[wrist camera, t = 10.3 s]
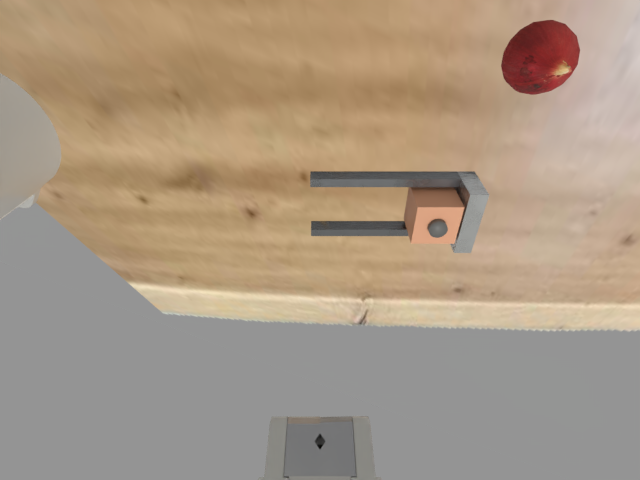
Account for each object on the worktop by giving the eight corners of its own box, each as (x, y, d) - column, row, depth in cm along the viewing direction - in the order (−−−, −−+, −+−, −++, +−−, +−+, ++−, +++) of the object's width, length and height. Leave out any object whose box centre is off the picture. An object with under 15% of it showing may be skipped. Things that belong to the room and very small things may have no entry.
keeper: (403, 218, 49) (412, 248, 44) (409, 183, 46) (419, 211, 41) (443, 218, 49) (456, 248, 44) (452, 183, 46) (466, 211, 41)
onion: (515, 91, 39) (552, 123, 33) (476, 56, 37) (508, 83, 31) (567, 39, 36) (618, 63, 30) (528, -2, 34) (574, 14, 28)
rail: (311, 227, 50) (310, 252, 46) (310, 171, 45) (309, 194, 41) (459, 227, 50) (470, 253, 46) (474, 171, 45) (489, 194, 41)
